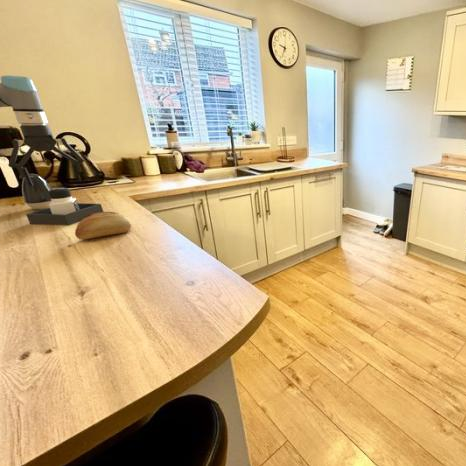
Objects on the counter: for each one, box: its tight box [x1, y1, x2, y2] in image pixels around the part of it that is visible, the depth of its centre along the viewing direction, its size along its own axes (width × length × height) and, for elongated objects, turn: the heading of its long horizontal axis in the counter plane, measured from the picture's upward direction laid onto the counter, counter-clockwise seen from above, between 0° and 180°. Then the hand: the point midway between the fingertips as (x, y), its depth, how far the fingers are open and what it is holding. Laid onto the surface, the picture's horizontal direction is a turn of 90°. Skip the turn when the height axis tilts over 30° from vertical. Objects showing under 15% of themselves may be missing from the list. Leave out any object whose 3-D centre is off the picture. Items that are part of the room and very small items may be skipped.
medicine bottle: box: [48, 187, 80, 215], centre depth 114 cm, size 7×7×12 cm
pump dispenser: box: [19, 173, 53, 211], centre depth 126 cm, size 10×10×15 cm
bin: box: [25, 202, 104, 226], centre depth 116 cm, size 16×16×4 cm
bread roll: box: [74, 211, 132, 240], centre depth 99 cm, size 10×15×8 cm, turn 137°
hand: (56, 183), depth 111 cm, fingers open, 13 cm apart
